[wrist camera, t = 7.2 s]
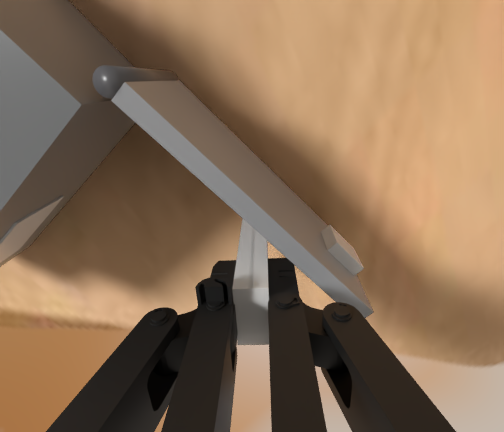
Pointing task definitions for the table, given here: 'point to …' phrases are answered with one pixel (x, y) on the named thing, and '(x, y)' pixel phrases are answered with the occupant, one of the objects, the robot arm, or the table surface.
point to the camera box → (49, 114)
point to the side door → (235, 176)
